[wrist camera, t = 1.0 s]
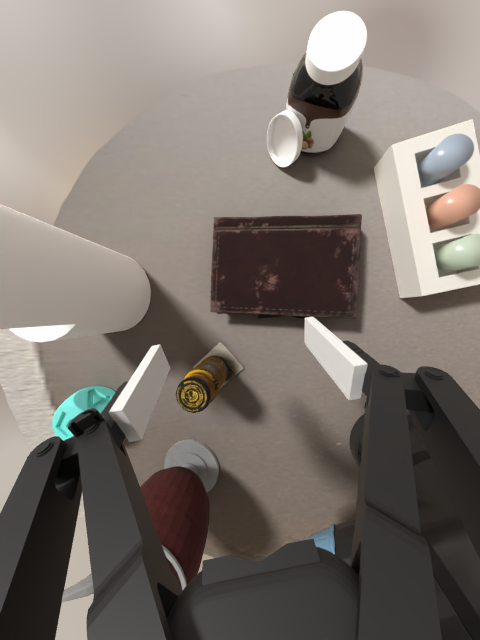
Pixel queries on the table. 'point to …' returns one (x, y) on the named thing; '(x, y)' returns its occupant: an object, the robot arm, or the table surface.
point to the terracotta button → (454, 206)
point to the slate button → (445, 158)
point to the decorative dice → (79, 407)
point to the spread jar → (320, 90)
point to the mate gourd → (176, 510)
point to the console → (424, 213)
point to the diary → (286, 265)
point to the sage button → (459, 254)
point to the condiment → (207, 379)
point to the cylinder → (64, 283)
